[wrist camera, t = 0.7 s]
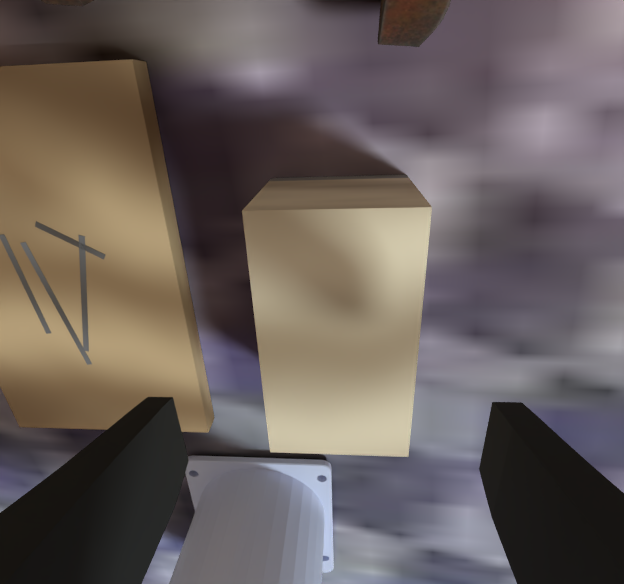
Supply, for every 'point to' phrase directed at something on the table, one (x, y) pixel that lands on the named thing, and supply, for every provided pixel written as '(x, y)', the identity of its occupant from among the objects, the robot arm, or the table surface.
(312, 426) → the block
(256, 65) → the table surface
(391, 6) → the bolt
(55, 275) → the board
